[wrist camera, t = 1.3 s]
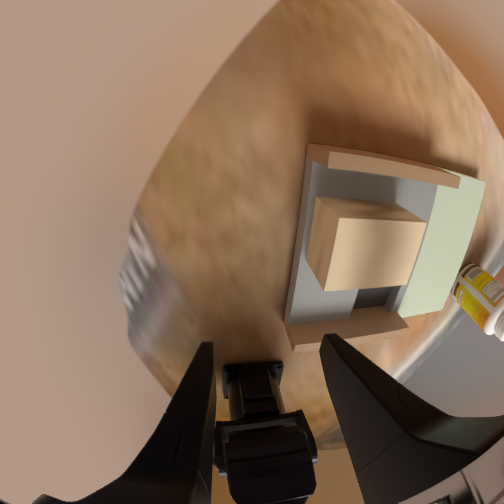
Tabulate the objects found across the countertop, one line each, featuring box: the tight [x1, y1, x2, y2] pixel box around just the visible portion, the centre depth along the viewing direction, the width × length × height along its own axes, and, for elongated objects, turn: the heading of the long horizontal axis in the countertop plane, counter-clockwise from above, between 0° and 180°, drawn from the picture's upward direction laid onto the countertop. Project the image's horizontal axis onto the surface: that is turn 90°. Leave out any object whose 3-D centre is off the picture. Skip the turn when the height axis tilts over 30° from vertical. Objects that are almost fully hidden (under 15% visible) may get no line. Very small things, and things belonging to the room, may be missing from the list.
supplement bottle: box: [452, 264, 504, 341], centre depth 23 cm, size 6×6×10 cm
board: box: [283, 143, 486, 353], centre depth 21 cm, size 20×16×4 cm
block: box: [306, 197, 426, 291], centre depth 18 cm, size 7×5×4 cm
